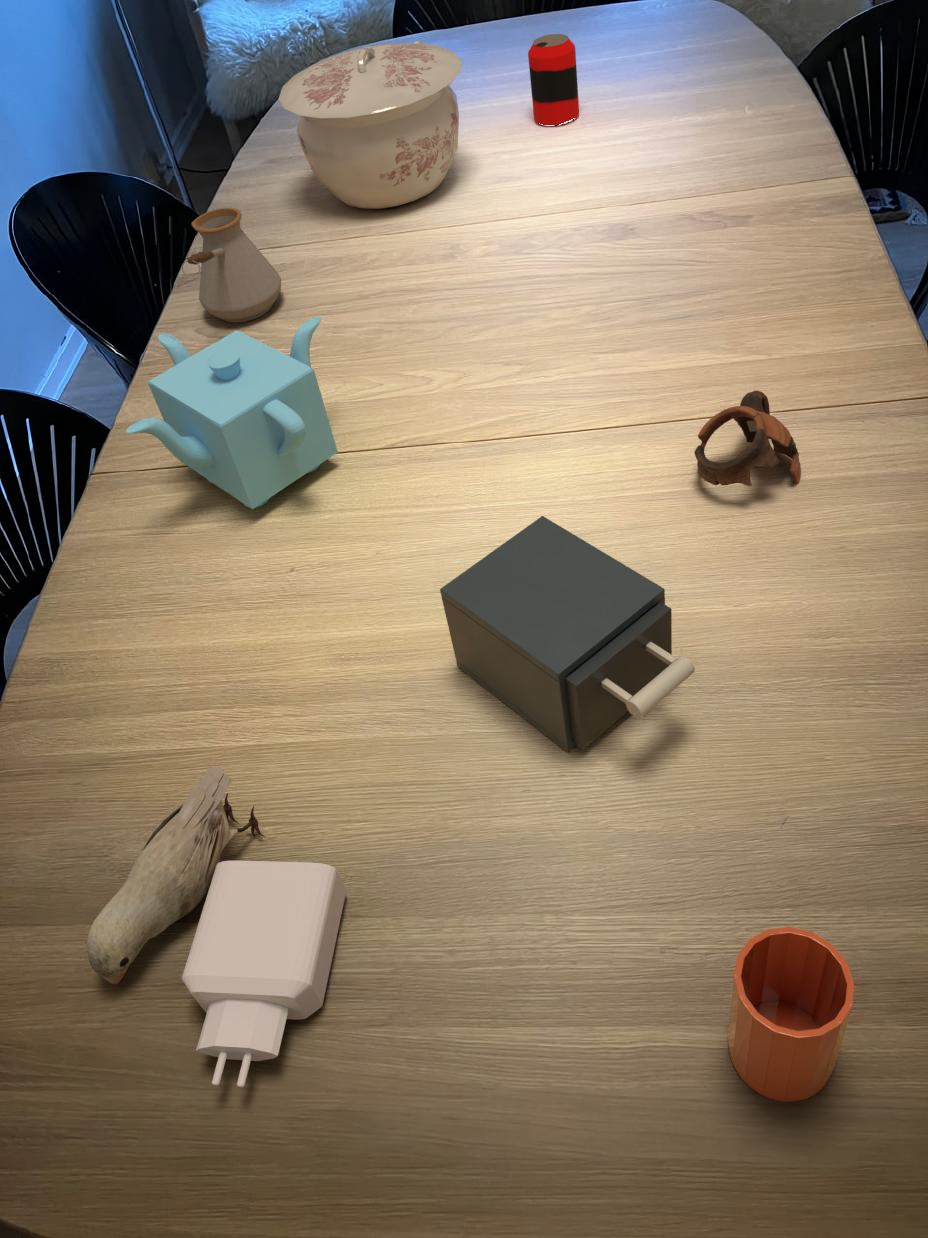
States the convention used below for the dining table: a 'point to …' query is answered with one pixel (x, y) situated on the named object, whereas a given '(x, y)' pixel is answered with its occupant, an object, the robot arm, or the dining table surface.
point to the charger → (262, 955)
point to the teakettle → (242, 413)
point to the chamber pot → (378, 121)
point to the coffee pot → (232, 269)
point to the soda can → (553, 79)
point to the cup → (788, 1012)
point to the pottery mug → (757, 432)
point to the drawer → (625, 676)
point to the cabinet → (541, 618)
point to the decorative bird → (165, 876)
